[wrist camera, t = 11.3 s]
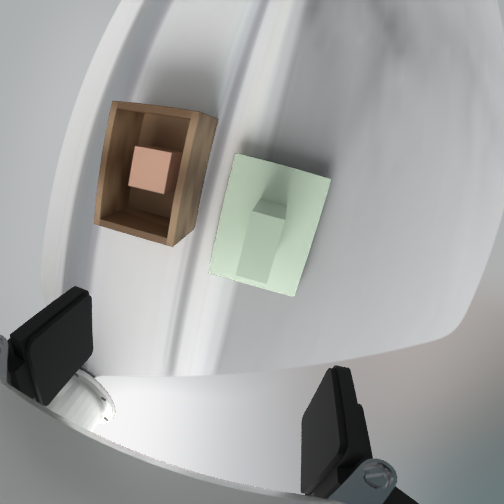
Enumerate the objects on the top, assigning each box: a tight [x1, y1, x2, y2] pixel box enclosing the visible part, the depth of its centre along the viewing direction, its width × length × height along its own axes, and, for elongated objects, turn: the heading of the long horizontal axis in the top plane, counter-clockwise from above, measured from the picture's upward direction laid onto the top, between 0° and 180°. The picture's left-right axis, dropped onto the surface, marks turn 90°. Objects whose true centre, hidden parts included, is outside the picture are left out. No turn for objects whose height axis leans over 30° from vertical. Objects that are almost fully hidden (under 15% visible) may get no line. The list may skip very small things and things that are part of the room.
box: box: [94, 101, 218, 247], centre depth 26 cm, size 11×8×6 cm
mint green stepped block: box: [208, 153, 331, 297], centre depth 26 cm, size 12×9×8 cm
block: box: [128, 146, 183, 194], centre depth 27 cm, size 4×4×4 cm
